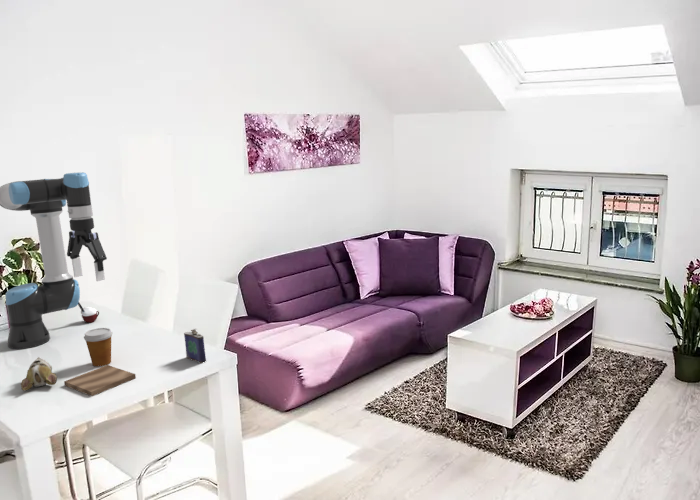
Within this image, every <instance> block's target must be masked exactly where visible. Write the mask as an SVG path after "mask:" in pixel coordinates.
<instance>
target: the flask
mask: <svg viewBox="0 0 700 500" xmlns="http://www.w3.org/2000/svg"><path fill="white" fill-rule="evenodd" d="M183 335H184V342H185V343H184V344H185V355H186V359H188V360H191V359H192V360H191V361H193V360H194V361H193V362H197V363H199V362H200V364H204V363H206V362H207V358H206V349H205V339H204V335H203V334H201V333H198V331H197V329H196V328H193V329H190V331H185V332H184V333H183ZM205 361H206V362H205ZM203 362H204V363H203Z"/></svg>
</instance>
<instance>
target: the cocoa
mask: <svg viewBox="0 0 700 500" xmlns="http://www.w3.org/2000/svg"><path fill="white" fill-rule="evenodd" d="M77 306H78V307H79V309H80V314H81V318H82V320H83V322H84V323H88V324H91V323H94V322H96V321H97V319H98V317H99V314H100V311H99V310H97V309H96V308H94V307H90V306H84V307H83V306H82V304H81V303H80V302H79V303H78V305H77Z"/></svg>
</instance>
